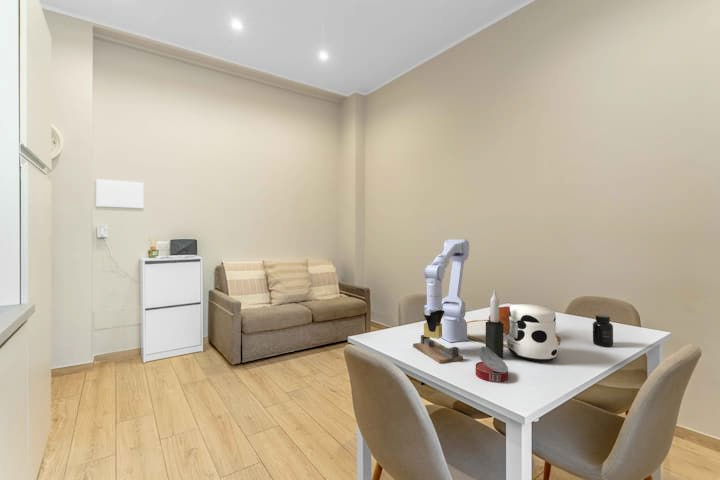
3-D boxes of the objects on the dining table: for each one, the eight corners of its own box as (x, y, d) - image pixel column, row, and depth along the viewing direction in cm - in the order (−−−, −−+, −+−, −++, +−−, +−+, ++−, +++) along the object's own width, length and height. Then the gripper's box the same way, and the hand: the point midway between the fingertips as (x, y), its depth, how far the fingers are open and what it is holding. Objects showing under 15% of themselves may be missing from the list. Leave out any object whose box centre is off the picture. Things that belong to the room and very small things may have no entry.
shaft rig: (434, 343, 138) (434, 333, 138) (463, 359, 120) (463, 347, 120) (413, 346, 135) (413, 335, 135) (439, 363, 117) (439, 351, 117)
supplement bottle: (614, 344, 137) (614, 315, 137) (612, 348, 132) (612, 319, 132) (594, 341, 142) (594, 313, 141) (591, 344, 137) (591, 316, 136)
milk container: (563, 355, 125) (564, 308, 124) (550, 368, 112) (550, 316, 112) (516, 344, 137) (516, 301, 136) (499, 355, 124) (499, 308, 124)
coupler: (442, 336, 129) (442, 322, 129) (438, 338, 126) (438, 324, 126) (427, 333, 133) (427, 320, 133) (423, 336, 129) (423, 322, 129)
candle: (495, 360, 120) (495, 291, 120) (484, 355, 124) (484, 289, 124) (504, 357, 122) (505, 290, 122) (493, 353, 127) (493, 288, 126)
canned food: (493, 384, 111) (506, 357, 112) (508, 395, 101) (521, 365, 102) (464, 368, 111) (476, 341, 112) (475, 378, 101) (489, 348, 102)
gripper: (431, 291, 137) (431, 324, 137) (417, 297, 125) (417, 332, 125) (448, 293, 133) (447, 326, 133) (434, 299, 121) (434, 336, 121)
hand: (434, 330), depth 129 cm, fingers closed on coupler, 4 cm apart
